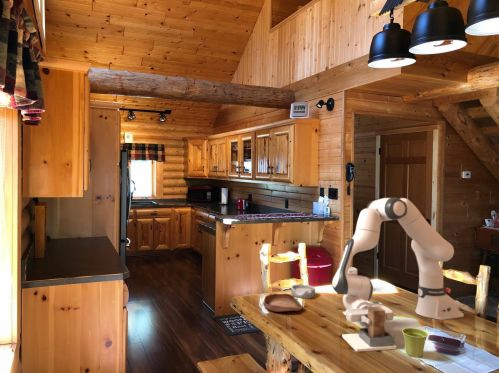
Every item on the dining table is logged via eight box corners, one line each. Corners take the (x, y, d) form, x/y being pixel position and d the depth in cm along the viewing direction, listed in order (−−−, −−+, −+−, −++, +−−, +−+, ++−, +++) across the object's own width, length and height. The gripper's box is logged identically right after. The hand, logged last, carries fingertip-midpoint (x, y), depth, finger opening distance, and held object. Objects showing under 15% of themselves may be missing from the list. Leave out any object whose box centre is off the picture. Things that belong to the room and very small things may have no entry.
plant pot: (420, 348, 163) (421, 327, 163) (432, 359, 154) (432, 336, 154) (397, 349, 163) (398, 327, 163) (407, 359, 154) (407, 337, 154)
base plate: (379, 334, 178) (379, 332, 178) (396, 349, 163) (396, 346, 163) (342, 336, 175) (342, 334, 175) (356, 351, 161) (356, 349, 160)
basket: (310, 313, 206) (310, 303, 206) (274, 318, 199) (274, 308, 199) (290, 300, 227) (290, 291, 227) (257, 304, 220) (257, 295, 219)
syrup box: (348, 293, 239) (348, 269, 239) (343, 291, 245) (344, 267, 244) (357, 293, 241) (357, 268, 240) (352, 290, 246) (352, 266, 246)
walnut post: (378, 334, 172) (379, 306, 171) (384, 339, 167) (385, 310, 166) (367, 335, 171) (368, 307, 170) (373, 340, 166) (373, 311, 165)
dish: (314, 299, 228) (314, 291, 228) (289, 298, 230) (290, 289, 230) (315, 292, 242) (315, 284, 242) (292, 291, 245) (292, 283, 244)
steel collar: (381, 335, 175) (382, 327, 174) (394, 345, 164) (394, 336, 164) (359, 336, 173) (359, 328, 173) (370, 346, 163) (370, 338, 163)
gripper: (340, 304, 180) (353, 315, 166) (384, 302, 183) (400, 312, 169) (340, 318, 180) (353, 330, 166) (384, 316, 183) (399, 327, 169)
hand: (377, 321), depth 168 cm, fingers closed on walnut post, 5 cm apart
